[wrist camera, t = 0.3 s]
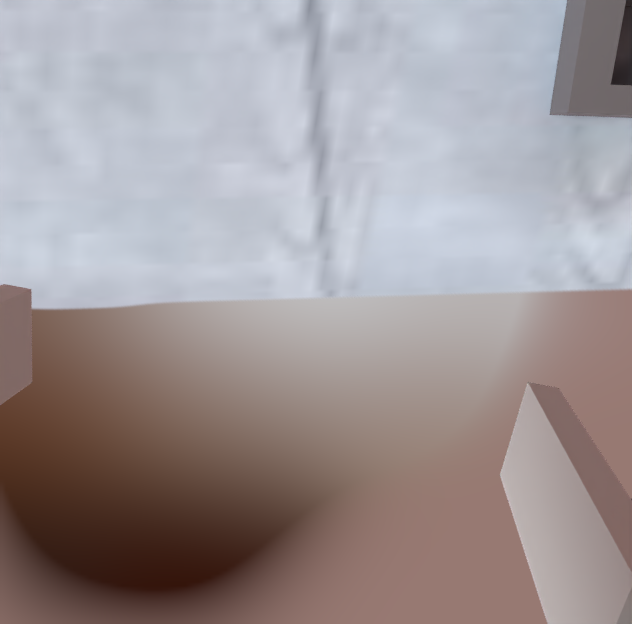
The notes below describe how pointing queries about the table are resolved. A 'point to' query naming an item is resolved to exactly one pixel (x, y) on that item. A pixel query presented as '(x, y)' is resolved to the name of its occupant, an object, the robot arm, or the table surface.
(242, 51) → the table surface
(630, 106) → the gray cinder block
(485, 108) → the table surface
